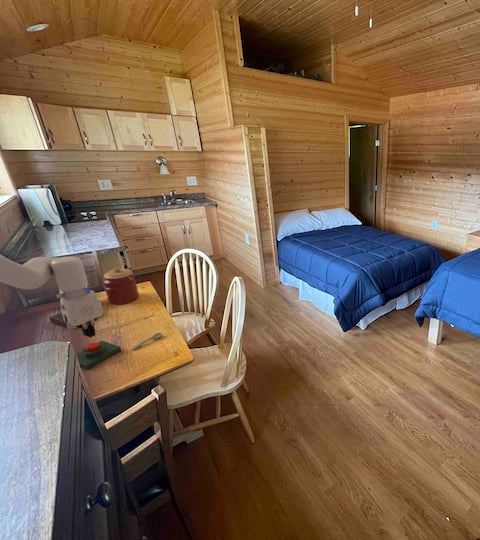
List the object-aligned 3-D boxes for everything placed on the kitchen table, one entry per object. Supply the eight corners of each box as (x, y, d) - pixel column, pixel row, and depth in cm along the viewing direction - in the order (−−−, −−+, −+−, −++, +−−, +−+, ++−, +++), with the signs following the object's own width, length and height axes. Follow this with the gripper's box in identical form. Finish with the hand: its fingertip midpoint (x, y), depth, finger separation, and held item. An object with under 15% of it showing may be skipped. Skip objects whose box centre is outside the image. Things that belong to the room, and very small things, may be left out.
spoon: (164, 336, 129) (163, 332, 129) (135, 352, 120) (133, 348, 119) (160, 334, 131) (159, 330, 130) (130, 350, 121) (129, 346, 120)
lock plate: (68, 328, 129) (66, 322, 128) (51, 323, 132) (48, 316, 131) (103, 313, 142) (101, 308, 140) (86, 308, 144) (84, 303, 143)
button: (91, 353, 111) (90, 349, 111) (84, 350, 112) (83, 346, 112) (102, 347, 115) (100, 343, 114) (95, 345, 115) (94, 341, 115)
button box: (87, 370, 108) (84, 361, 107) (68, 363, 111) (65, 354, 109) (121, 351, 119) (119, 342, 117) (103, 344, 121) (100, 336, 120)
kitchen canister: (112, 294, 158) (104, 263, 152) (141, 292, 163) (135, 262, 157) (104, 306, 147) (95, 273, 141) (136, 303, 153) (128, 271, 146)
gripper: (57, 303, 97) (74, 349, 104) (106, 285, 110) (118, 327, 117) (41, 298, 99) (59, 344, 106) (91, 281, 112) (104, 323, 119)
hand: (90, 335), depth 111 cm, fingers closed
